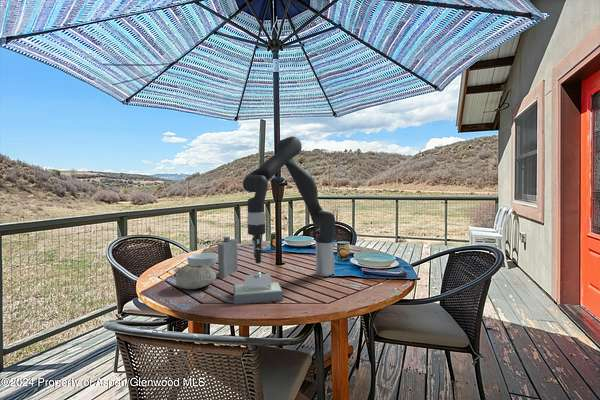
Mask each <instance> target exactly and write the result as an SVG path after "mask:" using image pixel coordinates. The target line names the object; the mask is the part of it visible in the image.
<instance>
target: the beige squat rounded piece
mask: <svg viewBox="0 0 600 400" xmlns="http://www.w3.org/2000/svg"><path fill="white" fill-rule="evenodd" d="M216 279H217V274H216V272H215V270H214V269H213V267H212V266H211V267H208V266H205V265H196V266H195V265H187V266H184V267H182V268H181V269H179V270H178V272H177V274H176V276H175V281H176V284H177V286H178V287H179V288H181V289H182V288H183V289H185V290H197V289H201V288H203V287H207V286H209V285H211V284H213V283H214V282H215V281H216Z"/></svg>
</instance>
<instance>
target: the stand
mask: <svg viewBox="0 0 600 400" xmlns="http://www.w3.org/2000/svg"><path fill="white" fill-rule="evenodd" d="M277 301H280V302H281V301H284V291H283V288H282V286H281V285H280V283H279V281H271V289H258V290H249V291H245V288H244V283H241V284H234V285H233V305H240V304H241V305H243V304H253V303H254V304H255V303H265V302H266V303H268V302H277Z"/></svg>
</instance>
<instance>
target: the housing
mask: <svg viewBox="0 0 600 400" xmlns="http://www.w3.org/2000/svg"><path fill="white" fill-rule="evenodd" d="M243 281H244V282H243V284H244V288H245V291H249V290H258V289H271V282H272V276H271V273H262V272H261V271H254V272H253V274H244V275H243Z"/></svg>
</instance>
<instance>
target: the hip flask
mask: <svg viewBox="0 0 600 400" xmlns="http://www.w3.org/2000/svg"><path fill="white" fill-rule="evenodd" d="M222 239H223V241H221V242H220V243H219V242H218V243H217V254H218V260H217V262H218V264H217V266H218V267H217V268H218V279H225V278H227V277H228V276H229V275H232V274H233V273H237V272H238V269H239V268H238V239H236V238H232V239H231V237H230V236H223V237H222Z"/></svg>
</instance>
